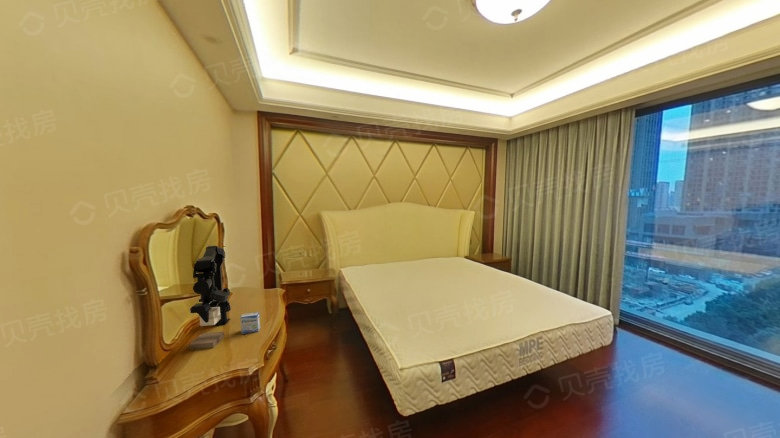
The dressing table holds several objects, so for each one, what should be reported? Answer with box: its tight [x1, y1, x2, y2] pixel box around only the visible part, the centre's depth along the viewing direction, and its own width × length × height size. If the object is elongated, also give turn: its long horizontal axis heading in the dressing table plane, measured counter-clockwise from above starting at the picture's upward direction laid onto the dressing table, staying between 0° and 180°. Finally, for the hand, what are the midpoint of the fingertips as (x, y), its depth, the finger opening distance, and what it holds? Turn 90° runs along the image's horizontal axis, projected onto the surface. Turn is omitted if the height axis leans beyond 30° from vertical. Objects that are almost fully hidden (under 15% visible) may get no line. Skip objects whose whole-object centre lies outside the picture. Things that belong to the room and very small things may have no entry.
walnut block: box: [189, 331, 225, 351], centre depth 130 cm, size 10×10×3 cm
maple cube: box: [198, 307, 221, 327], centre depth 128 cm, size 6×6×6 cm
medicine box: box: [240, 311, 261, 335], centre depth 140 cm, size 8×4×9 cm, turn 105°
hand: (210, 319), depth 128 cm, fingers closed on maple cube, 6 cm apart
